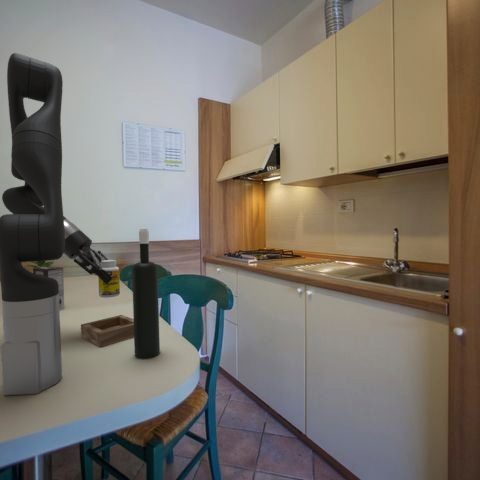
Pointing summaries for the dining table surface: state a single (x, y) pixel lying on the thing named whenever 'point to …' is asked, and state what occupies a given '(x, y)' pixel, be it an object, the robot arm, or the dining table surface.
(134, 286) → the wine bottle
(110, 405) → the dining table surface
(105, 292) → the supplement bottle
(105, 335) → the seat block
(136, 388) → the dining table surface
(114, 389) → the dining table surface
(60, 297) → the coffee box
